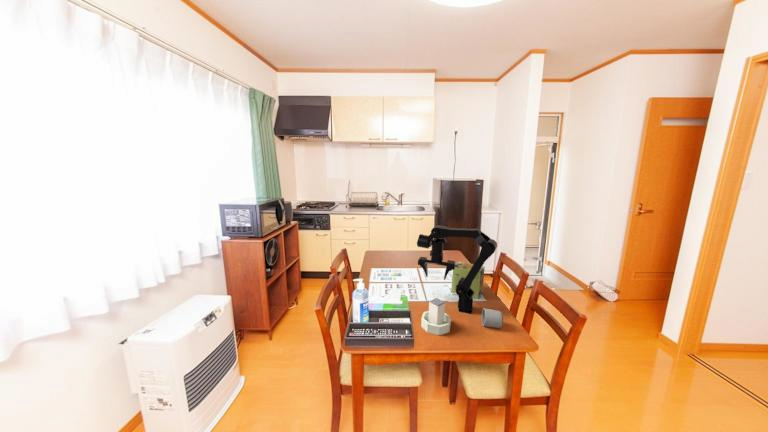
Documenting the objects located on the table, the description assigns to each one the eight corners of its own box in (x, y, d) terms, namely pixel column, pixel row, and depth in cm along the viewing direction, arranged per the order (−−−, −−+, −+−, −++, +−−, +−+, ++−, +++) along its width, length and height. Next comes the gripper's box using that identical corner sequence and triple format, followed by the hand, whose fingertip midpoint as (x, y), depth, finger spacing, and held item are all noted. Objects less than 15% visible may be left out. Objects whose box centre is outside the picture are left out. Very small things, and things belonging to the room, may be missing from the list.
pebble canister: (435, 319, 123) (436, 297, 121) (443, 324, 119) (445, 302, 117) (428, 323, 120) (429, 300, 118) (436, 328, 116) (437, 305, 114)
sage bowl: (451, 320, 124) (451, 313, 123) (448, 337, 112) (449, 328, 111) (424, 315, 128) (425, 308, 127) (419, 330, 116) (419, 322, 115)
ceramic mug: (503, 331, 116) (504, 315, 115) (483, 329, 118) (485, 313, 116) (497, 318, 126) (498, 303, 125) (479, 316, 128) (480, 301, 126)
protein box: (478, 299, 144) (480, 272, 141) (451, 291, 152) (452, 266, 149) (483, 291, 152) (485, 266, 149) (456, 285, 160) (458, 260, 157)
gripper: (457, 247, 140) (455, 274, 143) (422, 243, 146) (421, 270, 149) (455, 254, 130) (453, 283, 133) (418, 249, 136) (417, 277, 139)
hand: (435, 278), depth 139 cm, fingers open, 9 cm apart
